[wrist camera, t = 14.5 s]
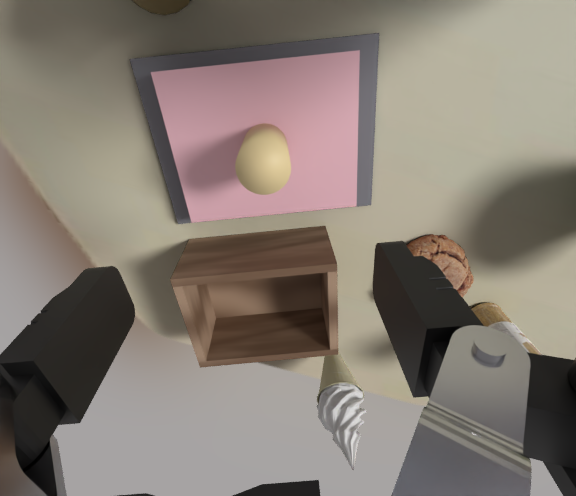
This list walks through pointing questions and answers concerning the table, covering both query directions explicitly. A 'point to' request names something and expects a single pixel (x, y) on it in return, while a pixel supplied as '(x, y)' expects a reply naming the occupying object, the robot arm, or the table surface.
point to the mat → (364, 43)
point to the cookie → (445, 259)
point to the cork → (162, 5)
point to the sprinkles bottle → (502, 324)
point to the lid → (264, 134)
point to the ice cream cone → (340, 405)
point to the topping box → (259, 296)
